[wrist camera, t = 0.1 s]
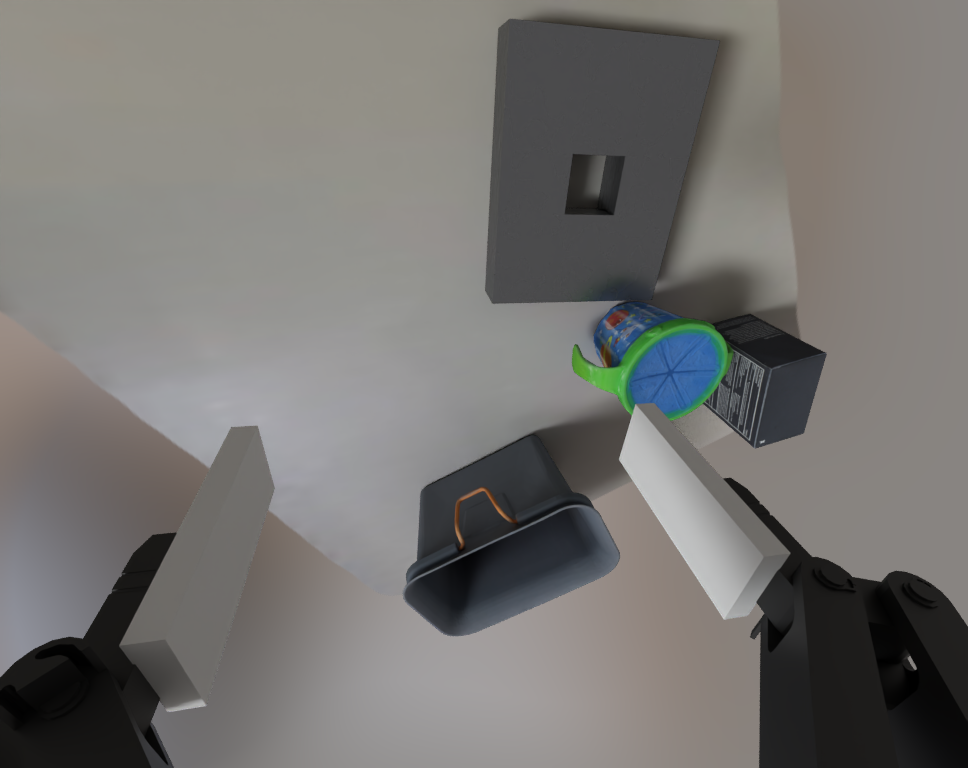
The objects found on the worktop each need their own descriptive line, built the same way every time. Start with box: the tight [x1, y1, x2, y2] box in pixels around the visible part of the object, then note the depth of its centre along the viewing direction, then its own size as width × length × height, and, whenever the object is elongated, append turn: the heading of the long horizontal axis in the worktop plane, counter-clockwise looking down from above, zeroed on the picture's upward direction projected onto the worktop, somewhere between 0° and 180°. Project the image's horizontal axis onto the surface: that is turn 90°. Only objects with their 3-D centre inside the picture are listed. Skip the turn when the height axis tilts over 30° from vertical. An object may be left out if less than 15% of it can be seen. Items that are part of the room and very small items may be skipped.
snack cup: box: [572, 302, 733, 421], centre depth 43 cm, size 16×10×10 cm
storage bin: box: [403, 435, 620, 636], centre depth 49 cm, size 21×16×14 cm
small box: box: [703, 314, 827, 448], centre depth 48 cm, size 11×6×10 cm, turn 11°
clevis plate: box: [485, 19, 720, 304], centre depth 37 cm, size 20×16×4 cm
